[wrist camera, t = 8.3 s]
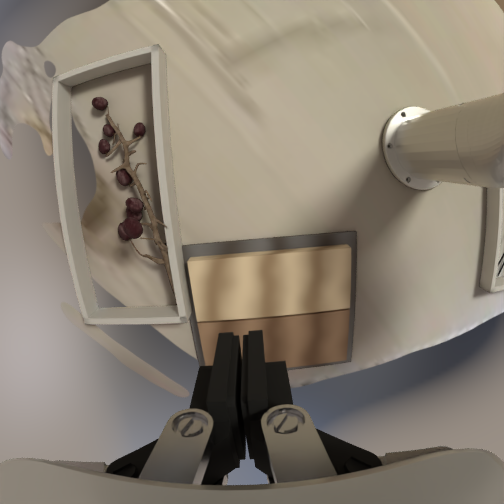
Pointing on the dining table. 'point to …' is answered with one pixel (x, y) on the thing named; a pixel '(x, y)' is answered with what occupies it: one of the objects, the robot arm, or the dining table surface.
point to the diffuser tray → (492, 242)
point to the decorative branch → (125, 177)
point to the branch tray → (166, 184)
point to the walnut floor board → (270, 247)
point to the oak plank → (271, 282)
